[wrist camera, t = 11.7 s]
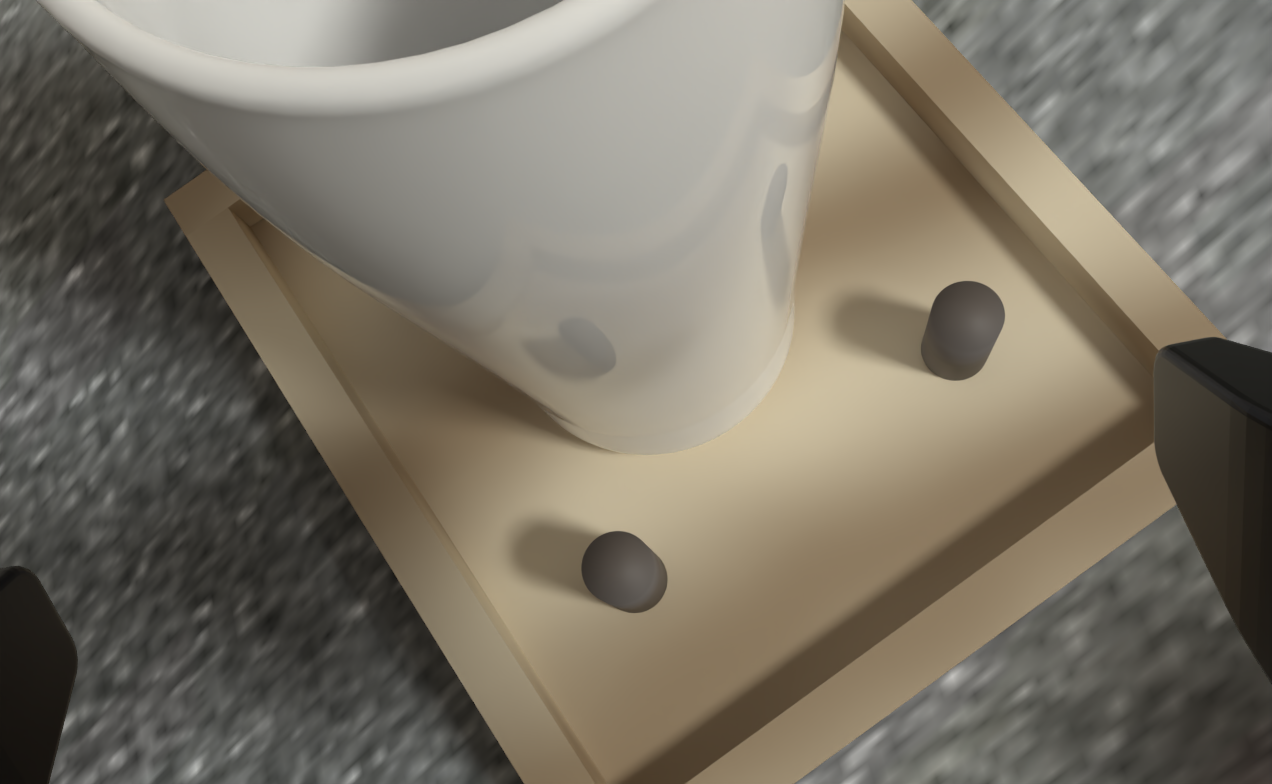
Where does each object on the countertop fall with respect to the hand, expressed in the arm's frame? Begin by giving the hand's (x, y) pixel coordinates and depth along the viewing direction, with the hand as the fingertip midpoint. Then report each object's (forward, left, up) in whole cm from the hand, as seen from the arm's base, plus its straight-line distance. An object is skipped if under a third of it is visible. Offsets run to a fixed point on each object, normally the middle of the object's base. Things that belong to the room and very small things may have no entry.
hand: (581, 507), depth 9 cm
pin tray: (+5, -3, -13) cm, 15 cm away
